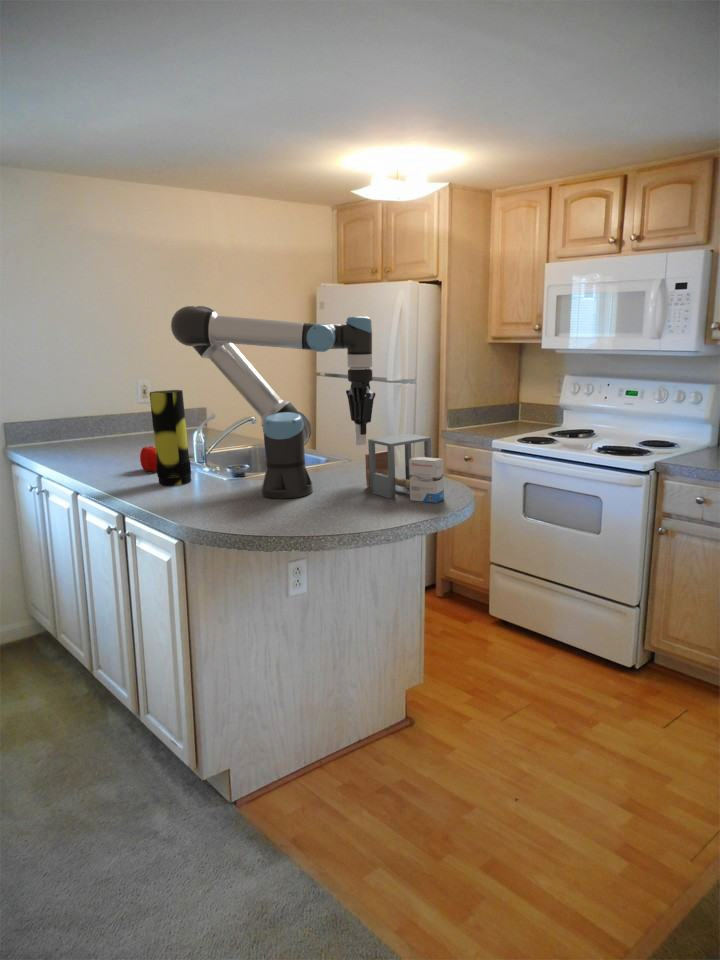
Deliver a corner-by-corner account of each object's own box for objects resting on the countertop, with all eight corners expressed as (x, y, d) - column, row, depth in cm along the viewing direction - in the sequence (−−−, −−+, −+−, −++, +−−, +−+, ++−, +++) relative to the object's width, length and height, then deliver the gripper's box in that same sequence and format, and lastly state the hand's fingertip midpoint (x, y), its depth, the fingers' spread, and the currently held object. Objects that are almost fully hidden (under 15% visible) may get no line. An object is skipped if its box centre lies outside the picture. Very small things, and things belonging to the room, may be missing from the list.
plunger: (366, 486, 214) (365, 454, 212) (390, 481, 219) (389, 450, 217) (405, 498, 198) (404, 463, 196) (430, 492, 203) (429, 458, 201)
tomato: (171, 466, 261) (168, 442, 259) (173, 472, 249) (170, 447, 247) (141, 469, 257) (138, 444, 255) (142, 475, 246) (139, 449, 244)
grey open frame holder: (370, 492, 208) (368, 439, 205) (408, 484, 216) (407, 433, 212) (392, 498, 199) (390, 443, 196) (431, 490, 207) (430, 437, 203)
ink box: (444, 499, 196) (444, 457, 194) (436, 503, 192) (435, 461, 190) (418, 496, 201) (417, 455, 198) (409, 500, 197) (408, 458, 194)
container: (195, 478, 237) (186, 389, 231) (188, 485, 227) (179, 392, 220) (163, 479, 237) (153, 390, 231) (154, 487, 227) (144, 394, 220)
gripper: (382, 368, 212) (383, 446, 217) (358, 366, 222) (359, 440, 228) (361, 370, 208) (363, 448, 213) (338, 368, 218) (340, 443, 224)
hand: (361, 444), depth 220 cm, fingers closed
